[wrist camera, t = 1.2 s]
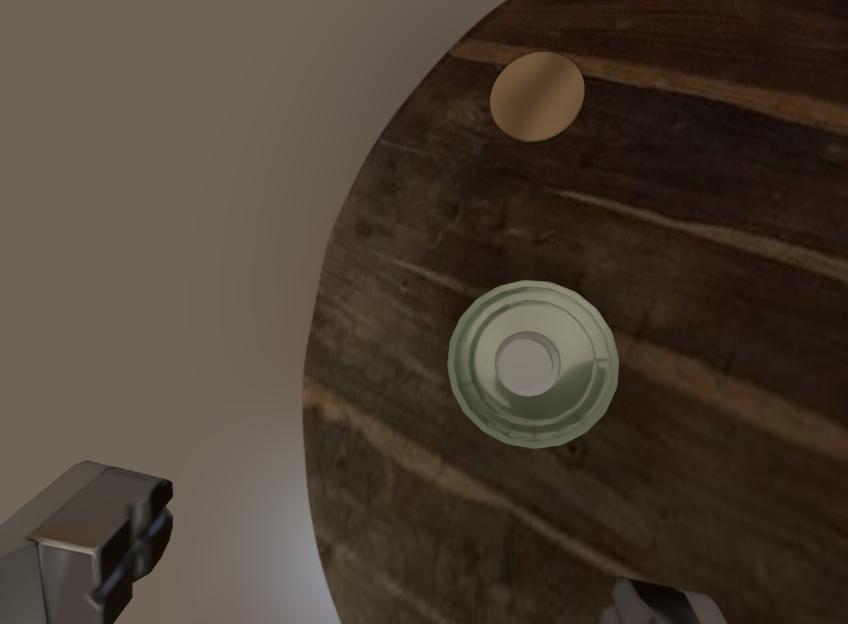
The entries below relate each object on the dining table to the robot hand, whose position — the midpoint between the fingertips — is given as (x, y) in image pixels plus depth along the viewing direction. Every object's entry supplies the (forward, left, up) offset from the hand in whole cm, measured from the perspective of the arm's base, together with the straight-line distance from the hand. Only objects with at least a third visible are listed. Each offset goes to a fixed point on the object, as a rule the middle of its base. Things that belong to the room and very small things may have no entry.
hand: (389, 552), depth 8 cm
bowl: (+1, -3, -36) cm, 36 cm away
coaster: (+11, -27, -36) cm, 46 cm away
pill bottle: (+1, -3, -35) cm, 35 cm away
